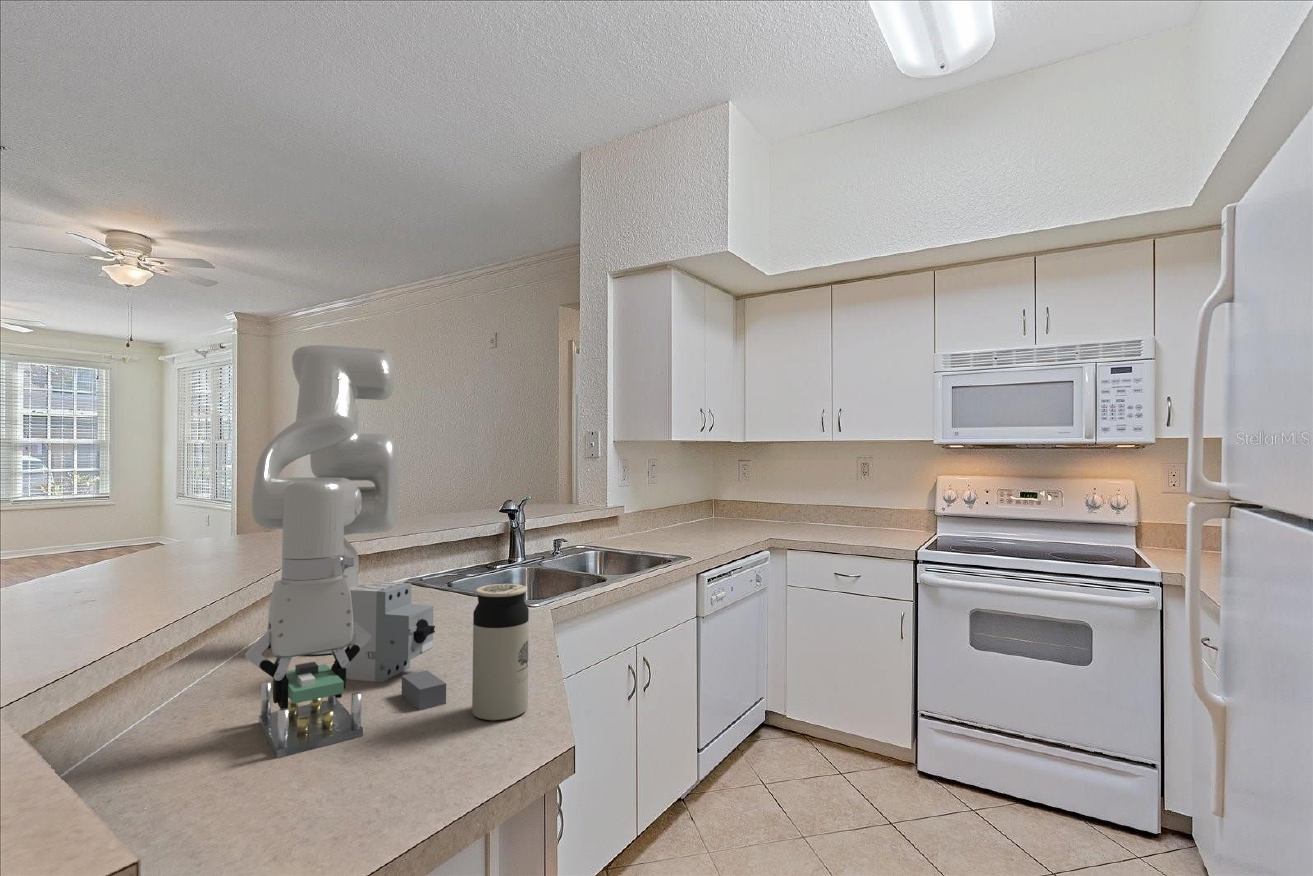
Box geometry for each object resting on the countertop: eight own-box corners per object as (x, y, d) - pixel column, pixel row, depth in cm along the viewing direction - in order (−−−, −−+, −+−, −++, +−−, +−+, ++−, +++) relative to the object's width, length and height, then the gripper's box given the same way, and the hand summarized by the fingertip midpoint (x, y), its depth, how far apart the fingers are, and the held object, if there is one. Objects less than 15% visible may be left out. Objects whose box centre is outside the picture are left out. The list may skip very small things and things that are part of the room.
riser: (401, 694, 100) (401, 675, 100) (426, 689, 103) (427, 670, 103) (419, 710, 94) (419, 689, 94) (446, 703, 97) (446, 683, 97)
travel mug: (460, 717, 91) (462, 591, 92) (494, 698, 99) (495, 581, 100) (507, 725, 88) (508, 595, 89) (537, 705, 96) (539, 585, 97)
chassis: (258, 722, 89) (259, 683, 90) (336, 705, 96) (336, 668, 96) (277, 758, 79) (278, 713, 79) (362, 735, 85) (363, 694, 85)
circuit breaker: (416, 685, 105) (418, 593, 105) (340, 678, 108) (342, 589, 108) (441, 670, 112) (442, 584, 113) (369, 664, 115) (370, 581, 115)
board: (278, 683, 89) (279, 665, 89) (325, 674, 93) (325, 657, 93) (293, 703, 82) (293, 684, 82) (343, 693, 85) (344, 674, 86)
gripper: (370, 560, 97) (368, 680, 96) (235, 572, 85) (231, 708, 85) (386, 566, 91) (383, 694, 90) (243, 580, 80) (239, 726, 79)
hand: (310, 699), depth 87 cm, fingers closed on board, 6 cm apart
